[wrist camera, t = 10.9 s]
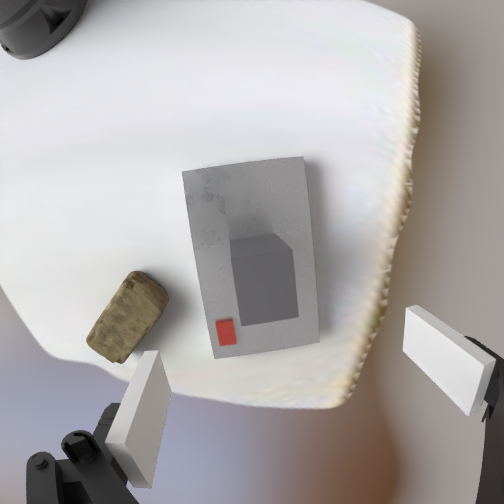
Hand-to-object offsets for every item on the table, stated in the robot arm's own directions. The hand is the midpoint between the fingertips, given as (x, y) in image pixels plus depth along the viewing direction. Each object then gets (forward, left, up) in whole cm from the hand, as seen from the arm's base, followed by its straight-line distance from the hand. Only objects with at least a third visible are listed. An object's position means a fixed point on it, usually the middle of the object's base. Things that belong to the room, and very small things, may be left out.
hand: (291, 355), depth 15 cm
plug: (0, 0, -22) cm, 22 cm away
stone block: (+5, -16, -23) cm, 29 cm away
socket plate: (0, 0, -22) cm, 23 cm away
